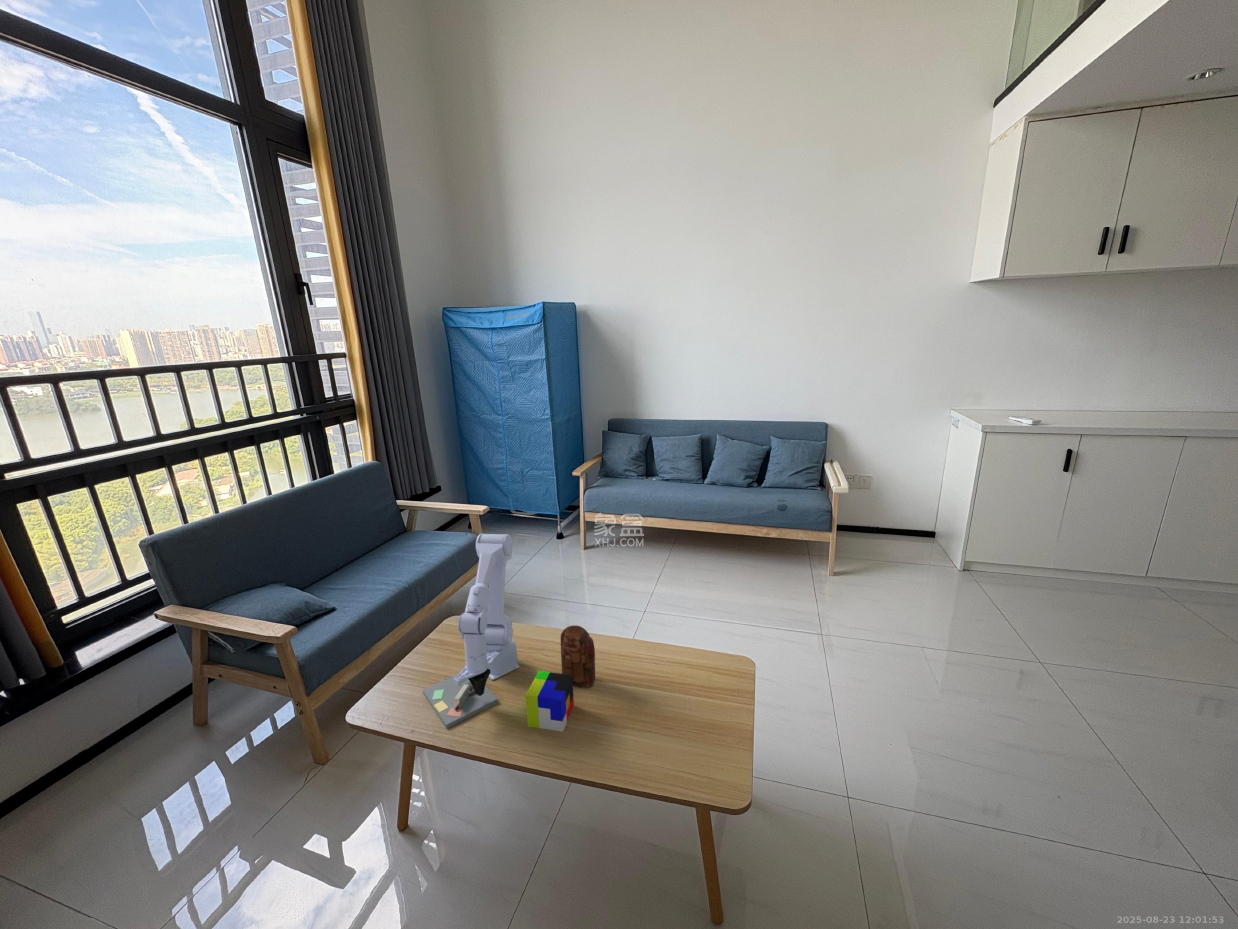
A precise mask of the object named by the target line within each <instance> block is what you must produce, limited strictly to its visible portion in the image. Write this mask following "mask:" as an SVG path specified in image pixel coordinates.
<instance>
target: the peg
mask: <svg viewBox="0 0 1238 929" xmlns="http://www.w3.org/2000/svg"><path fill="white" fill-rule="evenodd" d="M474 693H475V690H474V688H473V686H472V684H471V683H467V684H466V685H465V684H464V685H463V687H462V688H461V690H460V691H459V693H458V694H457V696H456V697H455V698H454V699H455V710H458V708H459V709H460V708H461V707H462V705H463V704H464V702H465V701H466V699H467V698H468V696H469V695H471V694H474Z"/></svg>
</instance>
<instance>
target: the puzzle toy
mask: <svg viewBox="0 0 1238 929" xmlns="http://www.w3.org/2000/svg"><path fill="white" fill-rule="evenodd" d="M574 702H575V700H574V686H573V675H568V674H562V673H558V672H551V671H542V670H538V672H537V674H536V675H535V677H534V679H533V681H532V682H531V685H530V686H529V688H528V690H527V692H526V693H525V705H526V706H525V707H526V720H527V727H528V728H529V727H530V728H535V729H536V728H537V729H542V730H550V731H555V732H556V731H557V732H562V733H563V732H564V731H565V728H566V725H567V723H568V721H569V718H570V716H571V713H572V710H573V708H574V707H575V703H574Z"/></svg>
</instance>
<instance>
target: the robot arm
mask: <svg viewBox="0 0 1238 929" xmlns="http://www.w3.org/2000/svg"><path fill="white" fill-rule="evenodd" d="M475 550H476V555H477V557H478V558H479V560H478V564H477V565H478V566H477V571H476V572H477V573H476V579H475V584H474V585H472V586H471V587H470V589H469V593H468V597H467V600H466V601H467V602H466V606H465V610H464V612H462V613H461V614H460V616H459V619H458V632H459V634H460V636H461V639H462V641H463V644H464V656H465V666H463V668H462V669H461V671H460V672H459V673H458V675H457V674H456V675H457V676H456V677H455V678H453V680H454V685H456V686H458V687H459V686H461V683H462V682H464V681H465V680H467V679H468V680H469V681H470V682H471V684H472V686H473V688H474V690H475V693H476V694H477V695H479V696H481V695H482V694H484V690H485V685H486V684H487V681H488V679H490V680H491V681H494V680H496V679H498V678H500V677H502V676H504V675H506V674H509V673H511V672H513V671H515V670H516V669H519V668H520V665H519V663H518V662H519V659H518V648H517V643H516V642H515V640H514V639H513V636H514V629H513V621H512V619H511V617H510V616H507V615H506V614H505V613H504V610H505V609H504V608H505V586H506V584H505V583H506V571H507V570H506V566H507V561H509V560H511V559H512V555H513V539H512V536H511V535H510V534H509V533H506V534H503V533H502V534H500V533H499V534H498V533H483V532H482V533H479V534H478V535H477V537H476V540H475ZM486 686H487V685H486Z"/></svg>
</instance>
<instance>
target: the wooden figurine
mask: <svg viewBox="0 0 1238 929" xmlns="http://www.w3.org/2000/svg"><path fill="white" fill-rule="evenodd" d="M594 644H595V642H594V639H593V638H592V637H591V636H590V633H589V632H588V630H586V629H585V628H584V627H582V626H580V625H570V626H566V627H565V628H564V629H563V631H562V632H561V634H560V652H561V653H560V658H561V662H560V663H561V674H568V675H573V687H576V688H582V687H585V688H588V689H590V688H592V687H593V685H594V683H595V681H596V651H595V650H596V649H595V645H594Z"/></svg>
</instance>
